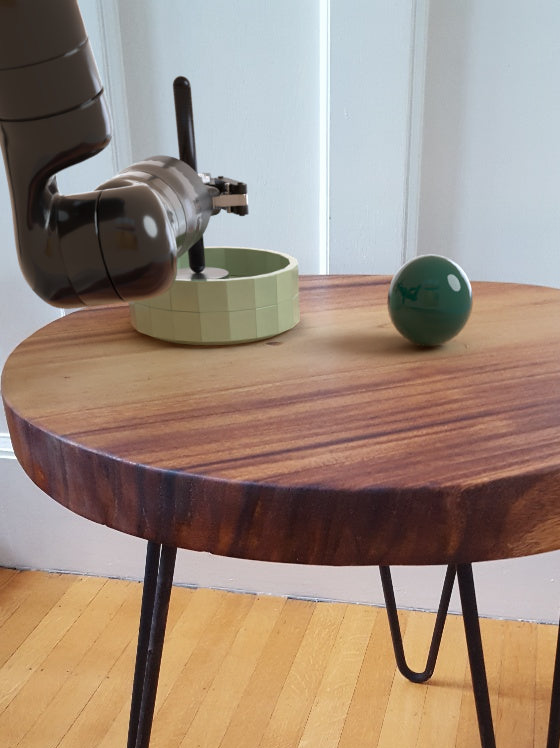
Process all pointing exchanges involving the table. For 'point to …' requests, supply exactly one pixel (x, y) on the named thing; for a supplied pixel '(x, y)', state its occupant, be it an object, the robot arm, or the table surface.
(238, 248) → the bowl
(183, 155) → the joystick
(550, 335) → the table surface
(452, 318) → the sphere
